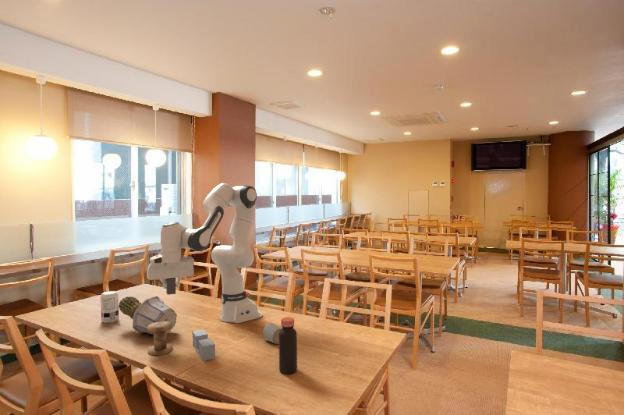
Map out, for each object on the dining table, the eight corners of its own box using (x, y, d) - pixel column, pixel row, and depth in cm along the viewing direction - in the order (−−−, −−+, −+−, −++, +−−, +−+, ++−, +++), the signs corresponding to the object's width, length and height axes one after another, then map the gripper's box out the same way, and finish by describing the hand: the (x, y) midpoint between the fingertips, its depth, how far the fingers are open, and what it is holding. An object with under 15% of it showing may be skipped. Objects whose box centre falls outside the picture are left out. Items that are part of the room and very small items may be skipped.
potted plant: (183, 301, 187) (139, 281, 198) (155, 314, 171) (108, 291, 182) (179, 333, 191) (135, 311, 201) (151, 348, 174) (105, 324, 185)
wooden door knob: (170, 343, 171) (170, 319, 171) (174, 352, 163) (173, 326, 162) (146, 348, 166) (145, 323, 166) (149, 357, 158) (148, 331, 157)
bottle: (297, 366, 149) (296, 316, 148) (297, 374, 142) (296, 322, 141) (279, 366, 149) (279, 316, 148) (278, 375, 142) (278, 322, 141)
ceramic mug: (273, 346, 167) (273, 329, 167) (262, 341, 173) (262, 324, 173) (291, 340, 175) (291, 323, 174) (280, 335, 181) (280, 319, 180)
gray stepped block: (204, 342, 173) (203, 329, 173) (215, 358, 156) (214, 344, 156) (192, 344, 171) (192, 331, 170) (202, 361, 154) (202, 346, 154)
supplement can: (97, 322, 200) (96, 294, 199) (111, 317, 207) (110, 290, 206) (109, 324, 197) (108, 295, 196) (122, 319, 204) (121, 291, 203)
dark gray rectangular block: (174, 292, 177) (174, 277, 177) (175, 293, 174) (175, 278, 174) (166, 293, 175) (166, 277, 175) (167, 294, 172) (167, 279, 172)
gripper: (192, 255, 182) (192, 283, 183) (146, 258, 172) (146, 288, 172) (195, 257, 177) (195, 286, 177) (147, 260, 167) (147, 291, 167)
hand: (170, 287), depth 175 cm, fingers closed on dark gray rectangular block, 3 cm apart
